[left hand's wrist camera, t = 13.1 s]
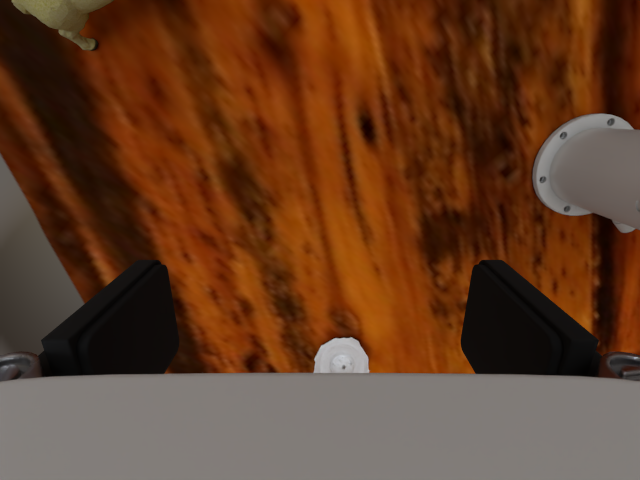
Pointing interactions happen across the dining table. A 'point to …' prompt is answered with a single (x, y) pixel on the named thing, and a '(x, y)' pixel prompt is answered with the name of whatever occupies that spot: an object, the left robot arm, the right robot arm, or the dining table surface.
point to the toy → (64, 16)
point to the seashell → (341, 357)
